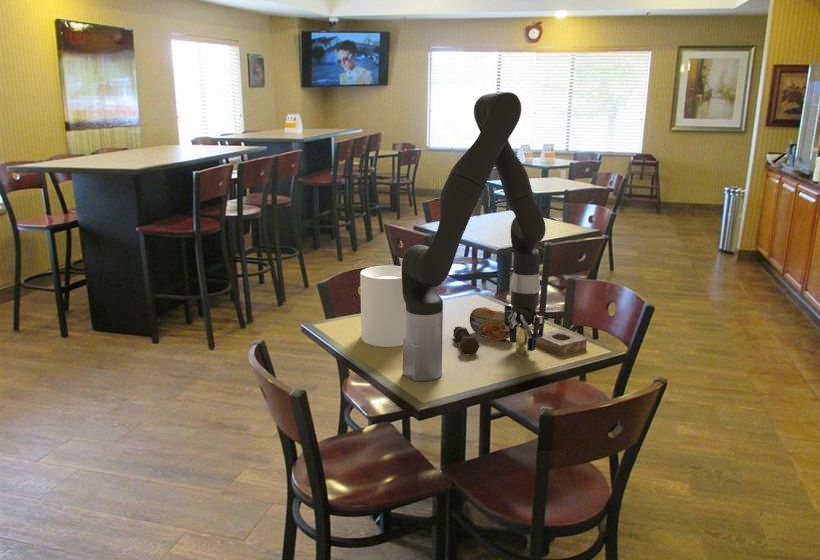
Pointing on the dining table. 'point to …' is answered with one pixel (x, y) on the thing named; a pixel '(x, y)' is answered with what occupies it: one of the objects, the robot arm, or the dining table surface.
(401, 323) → the canister
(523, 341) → the bushing
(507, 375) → the dining table surface
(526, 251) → the robot arm
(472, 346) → the dark brown lumpy piece
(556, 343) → the block
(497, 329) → the tin
